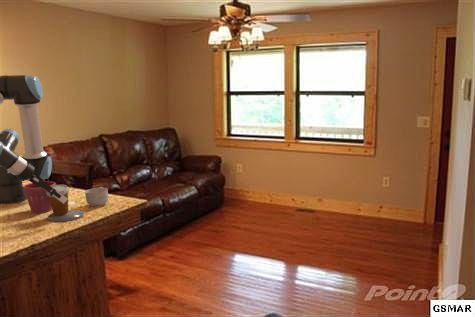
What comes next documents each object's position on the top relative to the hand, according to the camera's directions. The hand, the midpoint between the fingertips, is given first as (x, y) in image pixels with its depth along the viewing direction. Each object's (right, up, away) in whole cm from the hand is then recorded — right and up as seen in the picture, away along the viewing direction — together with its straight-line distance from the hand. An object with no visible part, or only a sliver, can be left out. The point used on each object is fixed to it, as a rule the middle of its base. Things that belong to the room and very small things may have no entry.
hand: (61, 198), depth 188 cm
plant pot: (-15, -7, +13) cm, 21 cm away
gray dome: (+1, -9, +3) cm, 9 cm away
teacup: (+9, -6, +23) cm, 25 cm away
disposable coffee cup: (-2, -7, +4) cm, 8 cm away
